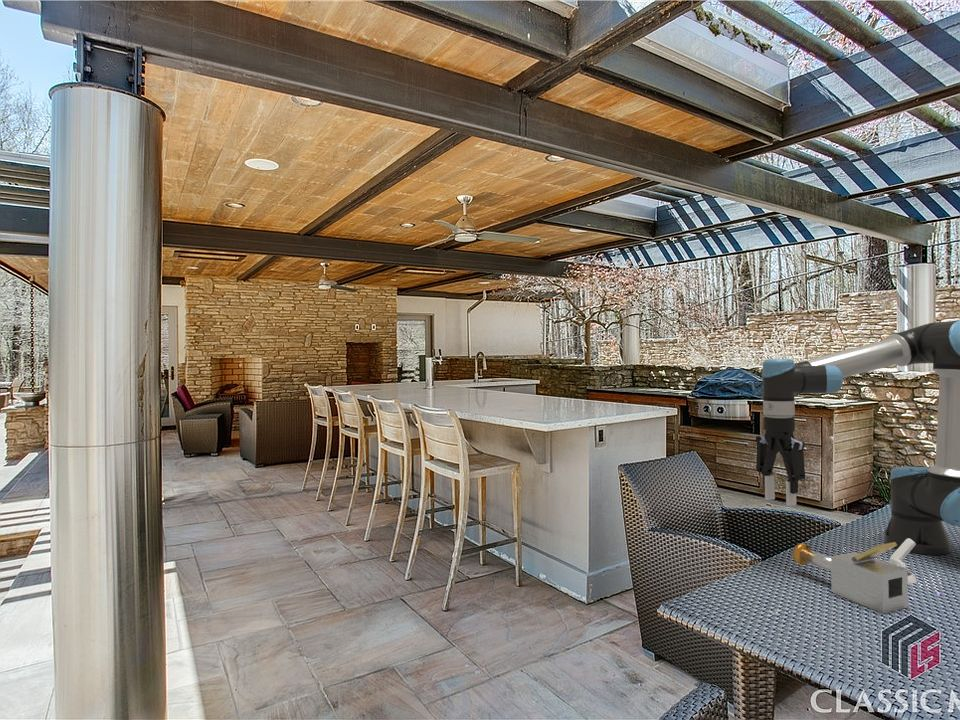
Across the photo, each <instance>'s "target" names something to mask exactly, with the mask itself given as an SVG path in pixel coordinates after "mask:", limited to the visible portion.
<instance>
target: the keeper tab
mask: <svg viewBox="0 0 960 720" xmlns="http://www.w3.org/2000/svg"><path fill="white" fill-rule="evenodd" d="M895 546H897V544H896V543H895V542H892V543H887V544H886V543H883V544H878V545H877V544H876V545H875V546H873V547H871V548H869V549H868V550H867V549H866V550H865V551H864V552H862V553H860V555H858V556H855V557H852V561H853V562H860V561H865V560H869V559H874V558H875V559H876V557H878V556H880V555H882V554H883V553H885V552H888V551H889V550H891V549H893V548H894V547H895Z"/></svg>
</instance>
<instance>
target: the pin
mask: <svg viewBox="0 0 960 720" xmlns="http://www.w3.org/2000/svg"><path fill="white" fill-rule="evenodd" d="M831 557H832V556H828V555H825V554H822V553H819V552H816V551H814V550H812V549H811V547H810V546H809V545H808V544H806V543H800V542H799V543H797V544H796V545H795V546H794V548H793V551H792V558H793V561H794V562H795V564H796V563H797V564H799V565H802V566H805V565H808V564H810V565H813V566H815V567H819V568H821V569H823V570H826V571H829V572H831Z"/></svg>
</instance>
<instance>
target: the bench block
mask: <svg viewBox="0 0 960 720" xmlns="http://www.w3.org/2000/svg"><path fill="white" fill-rule="evenodd" d="M860 554H861V553H859V552H857V551H854V552H853V551H852V552H848V553H842V554H837V555H832V556H830V557H831V571H830V572H831V573H830V574H831V579H830V582H831V593H832V592H833V593H832V594H834V593H835V594H834V595H838V596H839V595H840V596H839V597H841V598H844V597H845V598H844V599H846V598H847V599H846V600H849V599H850V600H849V601H852V602H854V603H856V604H858V605H861V606H864V607H866V608H869V609H871V610H873V611H876V612H879V613H880V612H881V614H887V613H892V612H895V611H899V610H903V609H906V608H909V588H908V587H909V584H908V574H907V570H908V568H907V567H906V568H903V567H900V566H896V565H893V564H890V563H888V561H884V560H881V559H879V558H876V557H875V558H874V559H869V560H865V561H860V562H853V561H852V557H855V556H858V555H860Z"/></svg>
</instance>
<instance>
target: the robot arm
mask: <svg viewBox="0 0 960 720" xmlns="http://www.w3.org/2000/svg"><path fill="white" fill-rule="evenodd" d="M794 362H795V361H794V360H793V359H792V358H770V359H769V358H767V359H765V360H764V361H763V362H762V369H761V370H762V371H761V378H762V407H763V408H762V409H763V411H762V412H763V413H762V414H763V415H764V417H763V418H762V420H763V421H762V424H763V425H762V426H763V430H764V431H765V432H764V435H757V436H755V441H756V461H755V462H756V465H755V467H756V468H755V470H756V472H759V473H761V475H762V486H763V487H764V500H766V501H772V500H775V499H776V494H775V493H776V492H775V491H776V490H775V489H776V487H775V483H776V482H775V480H776V479H775V475H774V474H775V472H773V470H774V466H775V462H776V458H777V454H778V453H779V455H780V456H781V457H782V460H783V461H782V462H783V464H784V467H785V471H786V475H787V478H788V479H786V481H785V502H786V503H785V505H786V506H787V507H793V506H797V494H798V493H799V481H802V480H803V481H804V480H805V479H806V470H805V468H806V466H805V456H804V449H805V445H806V443H805V442H804V441H799V440H796V437H795V436H794V432H795V430H796V418H795V417H793V416H795V415H796V411H795V410H796V409H795V404H796V403H795V395H798V394H799V395H800V394H801V395H803V394H804V395H805V394H810V395H812V394H815V395H816V394H817V395H819V394H825V395H827V394H835V393H838V392H840V391H841V390H842V387H843V384H844V379H845V378H848V377H851V376H855V375H859V374H864V373H868V372H871V371H874V370H875V371H876V370H880V369H882V368H883V369H884V368H887V367H892V366H899V367H906V366H909V365H916V364H932V371H933V372H934V373H935V374H937V376H939V383H938V384H939V387H938V388H939V389H938V403H937V404H938V406H937V407H938V408H937V423H936V424H937V426H936V442H935V443H936V444H935V445H936V446H935V448H936V449H935V463H934V465H933V466H896V467H893V468H891V471H890V478H889V481H890V509H891V510H890V511H891V514H890V515H891V516H890V519H889V521H888V524H887V526H886V529H885V532H884V544H887V543H892V542H895V543H896V544H897V546H895V547H893V548H894V549H896V550H897V549H898V548H899V547H900V546H901V544H902V543H903V542H904V541H905V540H906V539H908V538H909V539H911V540H913V541H914V542H915V543H916V545H915V546H914V547H913V549H912V550H911V551H910V552H909V553H915V554H920V555H930V556H931V555H933V556H935V555H936V556H938V555H939V556H941V555H947V554H948V555H949V554H950V553H951V550H952V549H951V541H950V540H949V537H948V535H947V532H946V529H945V527H944V525H943V523H944V522H945V523H946V524H947V525H950V526H953V527H959V528H960V320H957V319H956V320H948V321H936V322H930V323H926V324H923V325H922V324H921V325H919V326H915V327H913V328H909V329H907V330H902V331H899V332H897V333H892V334H890V335H888V336H887V338H886V339H884V340H879V341H876V342H872V343H868V344H864V345H860V346H857V347H853V348H849V349H848V348H847V349H845V350H841V351H838V352H834V353H829V354H827V355H825V354H824V355H821V356H818V357H814V358H811V359H807V360H804V361H798V362H795V363H794Z"/></svg>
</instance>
